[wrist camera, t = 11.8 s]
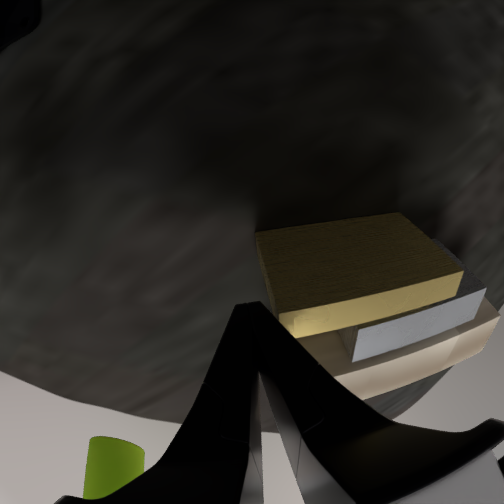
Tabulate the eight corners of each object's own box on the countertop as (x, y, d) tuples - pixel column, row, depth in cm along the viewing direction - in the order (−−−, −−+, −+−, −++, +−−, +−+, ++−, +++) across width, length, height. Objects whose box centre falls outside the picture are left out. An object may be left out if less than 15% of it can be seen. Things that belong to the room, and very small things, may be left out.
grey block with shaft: (320, 260, 14) (358, 329, 10) (435, 238, 14) (487, 287, 10) (315, 371, 19) (335, 428, 15) (405, 345, 19) (432, 393, 15)
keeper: (254, 232, 13) (279, 313, 8) (399, 212, 13) (463, 270, 9) (257, 256, 13) (280, 341, 9) (396, 234, 14) (455, 295, 9)
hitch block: (272, 307, 15) (293, 386, 11) (455, 267, 16) (500, 315, 12) (275, 345, 17) (293, 417, 13) (444, 302, 17) (481, 351, 13)
